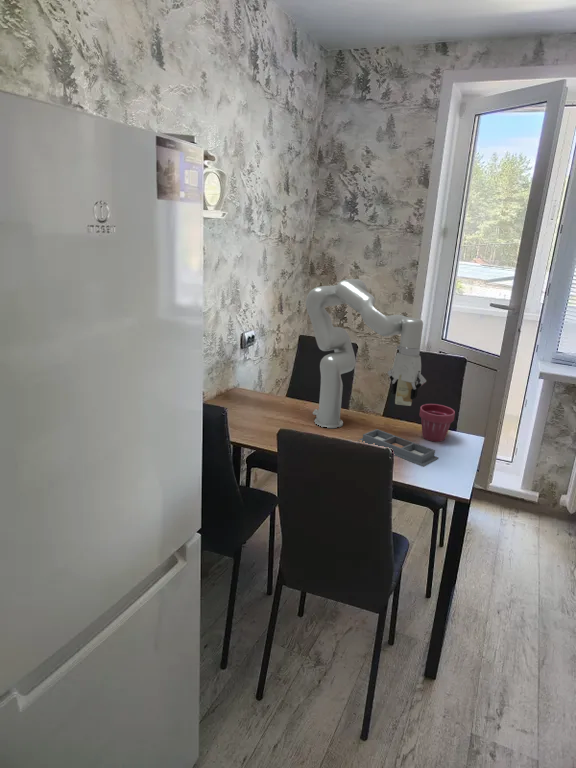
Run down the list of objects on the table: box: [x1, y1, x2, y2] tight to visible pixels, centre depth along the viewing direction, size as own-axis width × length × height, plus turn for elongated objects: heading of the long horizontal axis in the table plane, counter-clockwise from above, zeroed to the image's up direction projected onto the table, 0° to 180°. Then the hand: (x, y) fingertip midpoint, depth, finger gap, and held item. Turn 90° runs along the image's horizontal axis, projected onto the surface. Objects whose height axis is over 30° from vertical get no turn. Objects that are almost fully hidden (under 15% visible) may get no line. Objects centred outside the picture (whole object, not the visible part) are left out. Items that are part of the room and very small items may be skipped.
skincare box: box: [394, 374, 413, 407], centre depth 199 cm, size 6×4×12 cm
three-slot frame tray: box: [358, 428, 439, 467], centre depth 205 cm, size 30×11×3 cm, turn 45°
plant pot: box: [419, 403, 456, 443], centre depth 218 cm, size 14×14×13 cm
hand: (404, 395), depth 200 cm, fingers closed on skincare box, 7 cm apart
